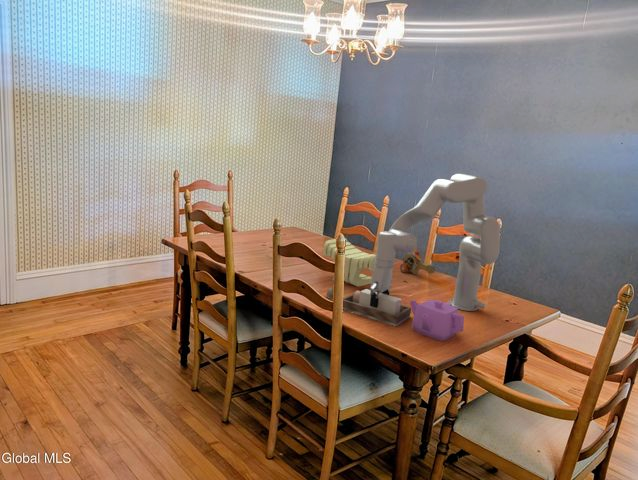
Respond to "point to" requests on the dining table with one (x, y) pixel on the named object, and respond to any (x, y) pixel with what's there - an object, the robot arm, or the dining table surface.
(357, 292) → the pale grey block
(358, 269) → the slatted curved stool
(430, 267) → the toy helicopter
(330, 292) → the chocolate bunny
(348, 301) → the wooden tray
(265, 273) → the dining table surface
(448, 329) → the teakettle
